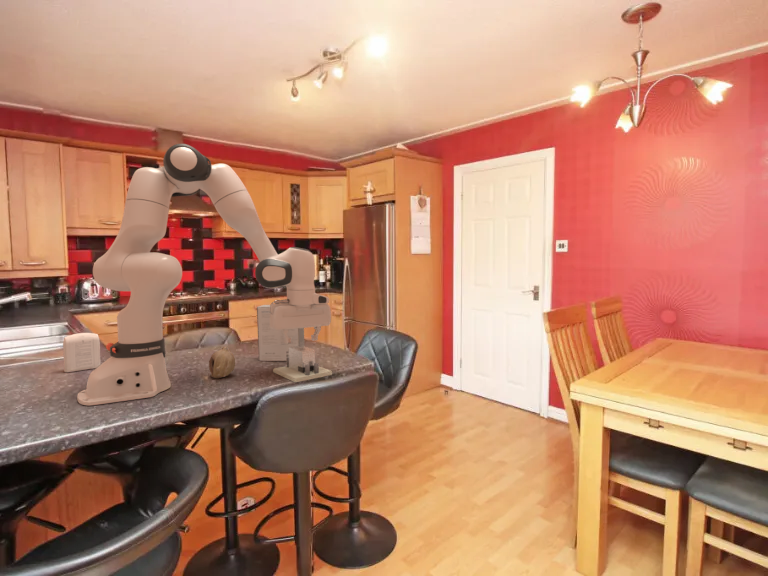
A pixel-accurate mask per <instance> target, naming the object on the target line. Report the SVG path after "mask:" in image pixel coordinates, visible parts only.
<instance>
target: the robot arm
mask: <svg viewBox="0 0 768 576" xmlns="http://www.w3.org/2000/svg"><path fill="white" fill-rule="evenodd" d="M163 155H164V156H163V158H162V159H163V160H162V162H163V163H162V164H163V166H161V167H158V168H155V167H151V166H150V167H148V166H146V167H141V168H138V169H136V170H135V171H134V173H133V175H132V176H131V177H132V178H131V180H130V182H129V185H128V190H127V192H126V197H125V203H124V209H123V214H122V219H121V224H120V227H119V231H118V233H117V235H116V237H115V239H114V241H113V242H112V244H111V245H110V247H109V248H108V250H106V252H105V253H104V254H103V255H101V256H100V257H98V258H97V259H96V261H94V264H93V267H92V276H93V279H94V281H95V282H96V283H97V285H99V286H100V287H102V288H104V289H108V290H112V291H116V292H130V297H129V300H128V303H127V305H126V306H125V307H124V308H121V310H120V311H118V313H117V317H116V320H117V342H115V343H112V342H108V343H107V344H106V345H105V348H106V350H107V351H109V355H110V357H109V358H107V359H106V360H105V361H104V362H102V363H101V365H100V366H99V367H97V368H94V369H93V370H92V371H91V372H90V373H89V375H88V378H87V382H86V389H83V390H81V391H79V392H78V393H77V395H76V396H77V398H76V399H77V402H78V403H79V404H80V405H82V406H83V405H84V406H97V405H103V404H111V403H118V402H124V401H133V400H139V399H145V398H153V397H155V396H156V395H158V394H159V393H161V392H163V391H167V390H168V389H169V388H171V386H172V383H171V381H170V378H169V375H168V372H167V366H166V359H165V358H166V350H167V349H166V341H165V338H164V335H163V334H164V333H163V332H164V330H163V316H164V315H163V313H164V309H165V304H166V301H167V299H168V298H169V296H170V294H171V293H172V291H173V290H174V289H176V288H177V287H178V286H179V285H180V282H181V281H182V278H183V268H182V265H181V263H180V261H179V260H178V258H176V257H175V256H173V255H170V254H165V253H162V252H154V251H153V252H151V250H152V249H153V248H154V246H155V245H156V244H157V243H158V242H160V241H161V240H162V239H163V238H164V237H165V235H166V232H167V227H168V219H169V213H170V204H171V199H172V197H190V196H194V195H195V194H198V192H200V190H201V191H203V192H204V193H205V194H206V195H207V196H208V197H209V199H210V200H211V203H212V205H213V206H214V208H215V210H216V212H217V213H218V214H219V217H221V219H222V220H223V221H224V222H225V223H226V225H227V226H228V227H230V228H232V229H233V230H235V231H236V232H237V233H239V234H240V235H241V236H242V237H244V239H245V240H246V241H247V243H248V244H249V246H250V247H251V249H252V250H253V252H254V253H255V255H256V258H257V259H258V261H259V262H258V264H257V265H256V267H255V269H254V274H255V275H254V276H255V278H256V281H257V283H258V284H259V285H260V286H262V287H264V288H266V289H282V288H286V298H285V299H275V300H274V301H272V302H271V303H270V304H269V305H270V312H271V314H270V328H271V329H272V330H276V331H277V330H281V334H282V335H283V337H284V342H285V344H290V343H291V338H289V337H288V336H287V334H286V333H288V329H297V328H304V329H306V328H313V329H314V332H313V334H311V338H310V340H311V341H313V342H314V341H315V342H316V341H318V340H319V338H318V337H319V334H320V333H321V330H322V327H324V326H325V327H327V326H330V324H331V323H332V313H331V306H330V305H329V303H330V298H329V297H328V296H326V295H323V294H320V293H316V287H315V278H316V265H315V258H314V255H313V252H311V251H310V249H306V248H303V247H302V248H301V247H296V246H291V247H289V248H287V249H286V250H284V251H282V252H281V253H278V252H277V250H276V248H275V247H274V245H273V243H272V241H271V240H270V239H269V237H268V235H267V233H266V231H265V230H264V227H263V225H262V223H261V219H260V217H259V214H258V212H257V209H256V206H255V203H254V201H253V199H252V196H251V195H250V192H249V191H248V189H247V187H246V186H245V184H244V183H243V181H242V180H241V178H240V177H239V176H238V173H236V171H235V170H234V169H233V168H232V166H230V165H228V164H226V163H221V162H220V163H219V162H218V163H215V164H212V161H211V160H210V158H209V157H207V156H205V155H203V154H202V153H201V152H200V151H199V150H198V149H196V148H195V147H193V146H191V145H189V144H186V143H177V144H176V143H175V144H173V145H172V146H171V147H169V148H168V149H167V150H166V152H165V153H164V154H163Z"/></svg>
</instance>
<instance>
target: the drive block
mask: <svg viewBox="0 0 768 576" xmlns="http://www.w3.org/2000/svg"><path fill="white" fill-rule="evenodd" d="M314 363H316V349H313V348H311V347H308V346H305V345H304V346H302V345H300V346H293V347H289V368H290V369H292V370H295V371H297V372H299V373H302V374H305V365H310V372H314Z"/></svg>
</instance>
